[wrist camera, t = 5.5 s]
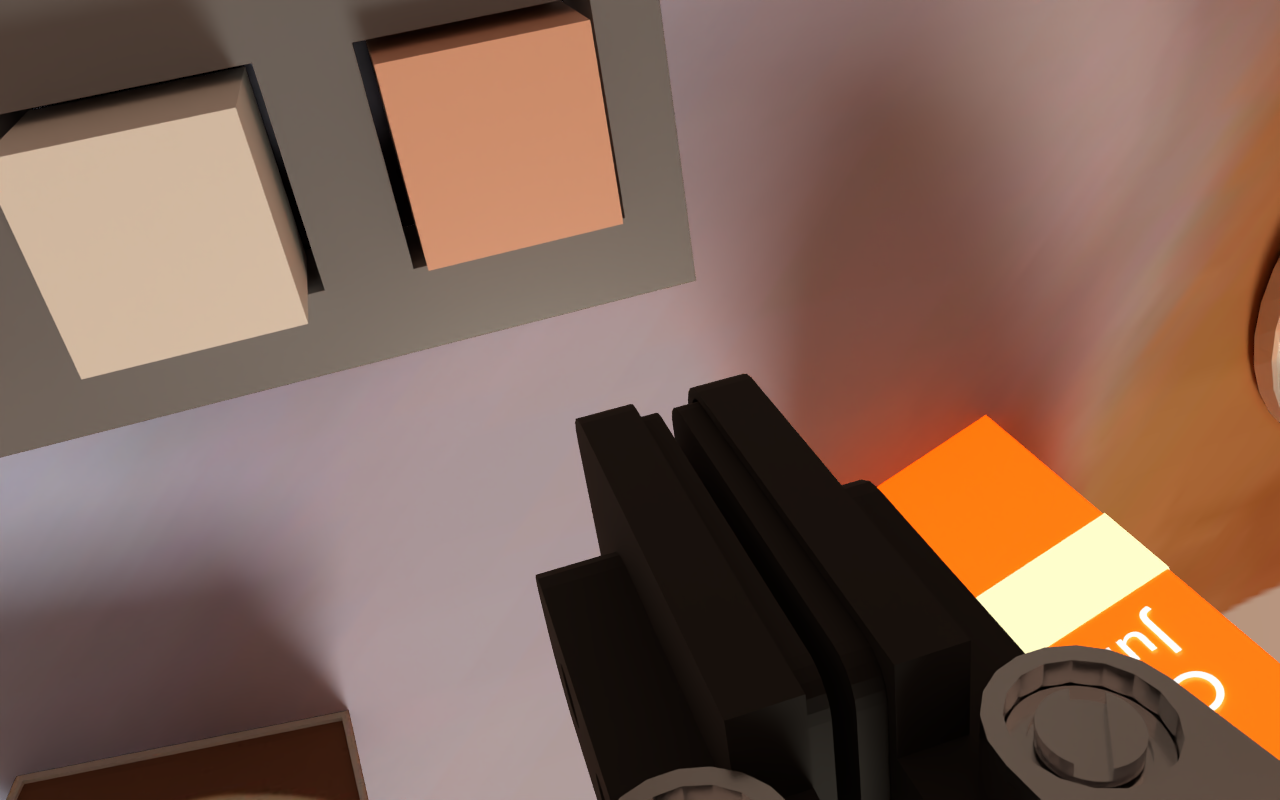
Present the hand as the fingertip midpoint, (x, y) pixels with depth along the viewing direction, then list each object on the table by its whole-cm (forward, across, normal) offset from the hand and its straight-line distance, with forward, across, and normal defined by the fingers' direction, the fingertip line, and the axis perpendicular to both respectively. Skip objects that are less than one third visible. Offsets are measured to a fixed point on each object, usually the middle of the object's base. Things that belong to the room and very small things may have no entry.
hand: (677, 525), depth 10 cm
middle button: (+17, +6, 0) cm, 18 cm away
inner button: (+18, -1, 0) cm, 18 cm away
